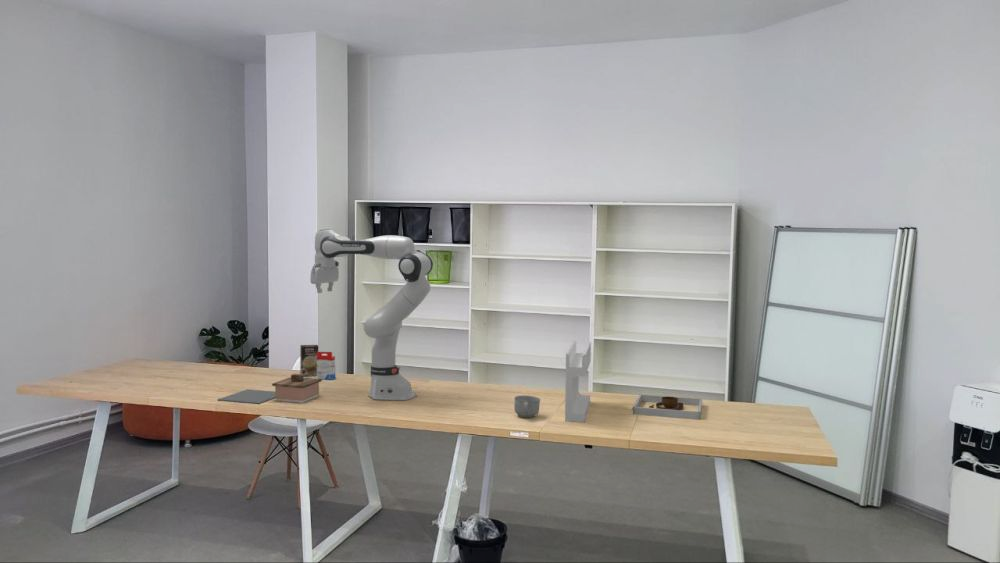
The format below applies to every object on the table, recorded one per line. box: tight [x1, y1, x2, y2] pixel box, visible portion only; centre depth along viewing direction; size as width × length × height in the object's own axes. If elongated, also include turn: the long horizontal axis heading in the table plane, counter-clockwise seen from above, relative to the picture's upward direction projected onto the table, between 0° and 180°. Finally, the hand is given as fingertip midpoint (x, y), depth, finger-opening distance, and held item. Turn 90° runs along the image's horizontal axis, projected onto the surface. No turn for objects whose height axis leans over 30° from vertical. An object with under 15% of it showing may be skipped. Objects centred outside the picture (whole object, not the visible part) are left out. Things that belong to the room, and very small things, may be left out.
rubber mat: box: [217, 388, 276, 405], centre depth 346 cm, size 22×22×1 cm
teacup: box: [513, 394, 541, 419], centre depth 312 cm, size 14×11×8 cm
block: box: [564, 340, 592, 423], centre depth 321 cm, size 35×8×28 cm, turn 170°
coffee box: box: [299, 344, 319, 378], centre depth 395 cm, size 9×6×16 cm
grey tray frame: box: [632, 393, 703, 420], centre depth 327 cm, size 28×26×3 cm
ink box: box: [316, 351, 336, 381], centre depth 387 cm, size 8×5×15 cm, turn 84°
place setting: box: [648, 395, 684, 411], centre depth 326 cm, size 18×20×6 cm
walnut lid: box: [271, 373, 323, 388], centre depth 343 cm, size 16×16×4 cm
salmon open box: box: [274, 382, 320, 404], centre depth 343 cm, size 14×14×7 cm
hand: (324, 292), depth 356 cm, fingers open, 8 cm apart
